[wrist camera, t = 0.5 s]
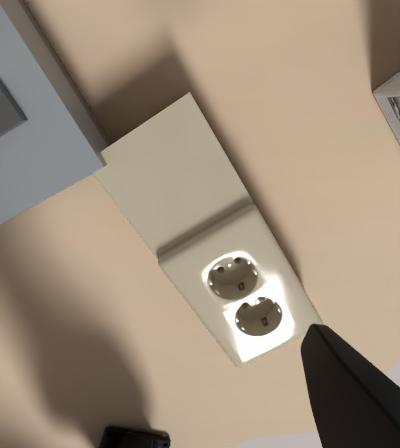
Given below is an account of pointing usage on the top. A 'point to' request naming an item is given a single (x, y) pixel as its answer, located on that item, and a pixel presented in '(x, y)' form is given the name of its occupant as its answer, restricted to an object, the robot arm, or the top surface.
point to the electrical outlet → (207, 232)
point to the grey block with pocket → (39, 118)
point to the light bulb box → (390, 102)
